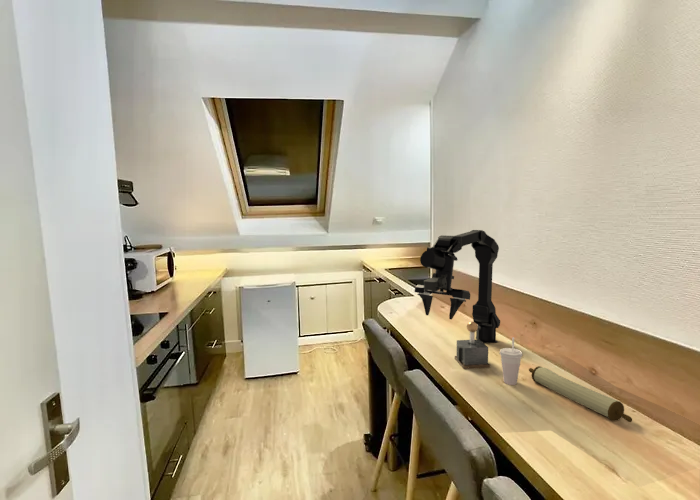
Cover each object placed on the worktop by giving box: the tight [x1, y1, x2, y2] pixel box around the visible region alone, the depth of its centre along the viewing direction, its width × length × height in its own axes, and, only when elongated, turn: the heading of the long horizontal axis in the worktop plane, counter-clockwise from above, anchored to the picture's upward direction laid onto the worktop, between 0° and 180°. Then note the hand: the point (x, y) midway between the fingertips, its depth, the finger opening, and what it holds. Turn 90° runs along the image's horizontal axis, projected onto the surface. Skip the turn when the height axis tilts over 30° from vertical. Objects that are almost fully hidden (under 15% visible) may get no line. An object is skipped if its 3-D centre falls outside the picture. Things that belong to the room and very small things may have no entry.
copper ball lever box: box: [454, 339, 491, 370], centre depth 138 cm, size 9×9×7 cm
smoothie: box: [499, 336, 523, 386], centre depth 122 cm, size 6×6×14 cm
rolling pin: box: [528, 366, 633, 423], centre depth 111 cm, size 32×6×5 cm, turn 20°
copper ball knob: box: [466, 321, 478, 345], centre depth 137 cm, size 6×6×9 cm
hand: (438, 317), depth 137 cm, fingers open, 9 cm apart
